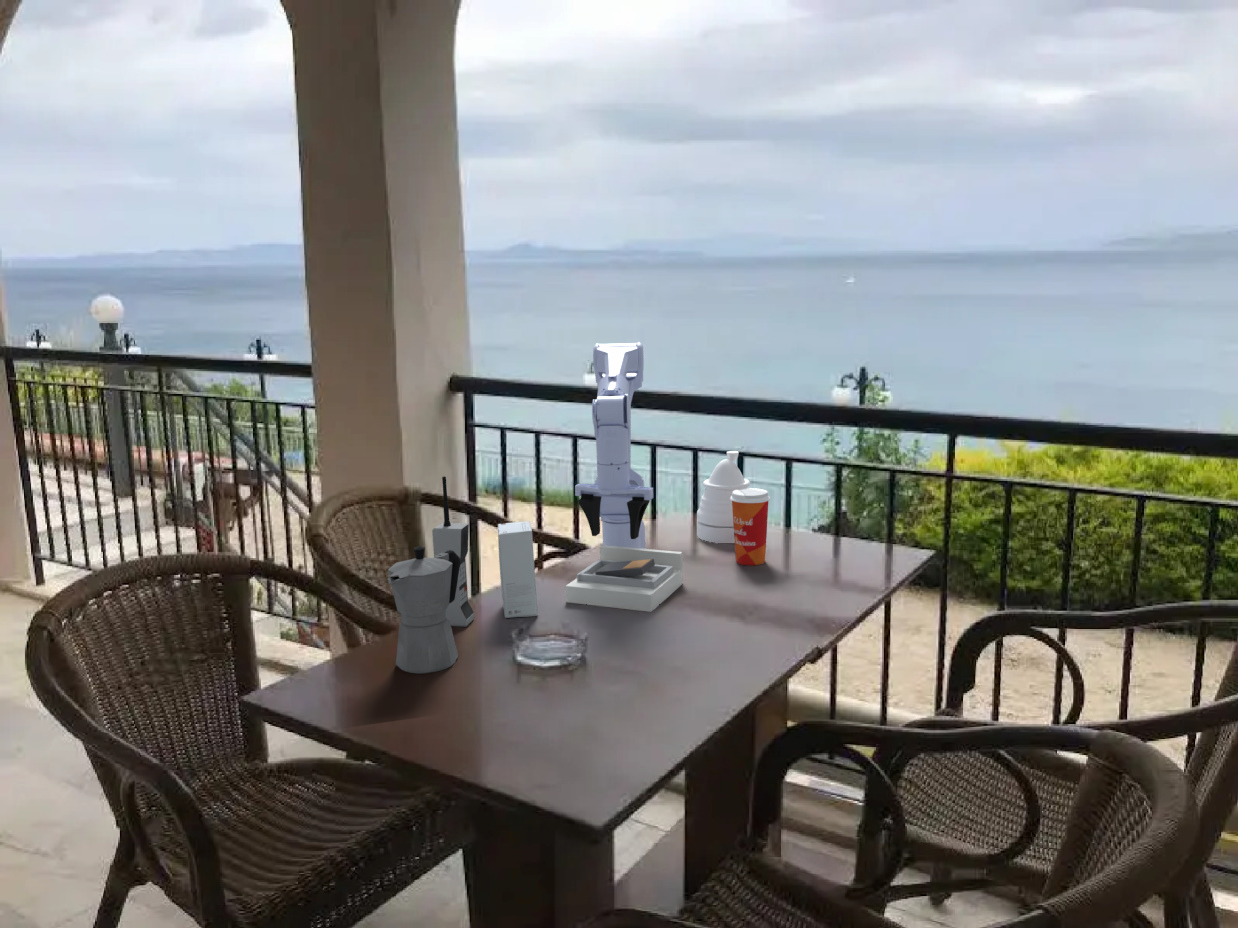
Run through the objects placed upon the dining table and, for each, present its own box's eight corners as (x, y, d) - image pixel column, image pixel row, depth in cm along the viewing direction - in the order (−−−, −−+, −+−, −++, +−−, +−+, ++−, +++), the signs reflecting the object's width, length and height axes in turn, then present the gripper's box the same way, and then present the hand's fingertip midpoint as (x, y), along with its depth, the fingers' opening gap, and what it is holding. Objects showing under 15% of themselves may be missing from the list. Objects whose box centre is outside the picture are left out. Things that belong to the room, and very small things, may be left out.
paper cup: (723, 559, 198) (722, 490, 196) (756, 553, 201) (756, 485, 199) (744, 569, 191) (744, 498, 189) (778, 563, 194) (778, 493, 192)
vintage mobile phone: (467, 627, 165) (457, 478, 160) (438, 626, 166) (428, 478, 161) (474, 619, 169) (465, 474, 164) (446, 618, 170) (437, 473, 165)
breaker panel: (603, 575, 190) (602, 545, 189) (683, 583, 184) (682, 552, 183) (566, 602, 176) (564, 569, 175) (651, 611, 170) (650, 577, 169)
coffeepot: (422, 683, 143) (413, 562, 140) (373, 672, 148) (363, 554, 144) (487, 647, 156) (481, 535, 153) (440, 637, 161) (433, 529, 158)
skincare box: (538, 616, 169) (534, 531, 166) (502, 619, 169) (497, 533, 166) (535, 600, 177) (531, 519, 175) (501, 603, 177) (496, 521, 174)
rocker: (609, 569, 184) (608, 562, 184) (655, 565, 180) (653, 558, 180) (596, 578, 178) (595, 571, 178) (642, 574, 175) (641, 567, 175)
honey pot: (726, 524, 224) (725, 445, 221) (769, 535, 215) (769, 452, 211) (684, 536, 216) (683, 453, 213) (728, 547, 207) (727, 461, 203)
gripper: (566, 464, 179) (569, 538, 181) (642, 468, 173) (644, 544, 176) (583, 457, 185) (586, 529, 188) (656, 461, 180) (658, 535, 182)
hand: (615, 536), depth 182 cm, fingers open, 7 cm apart
